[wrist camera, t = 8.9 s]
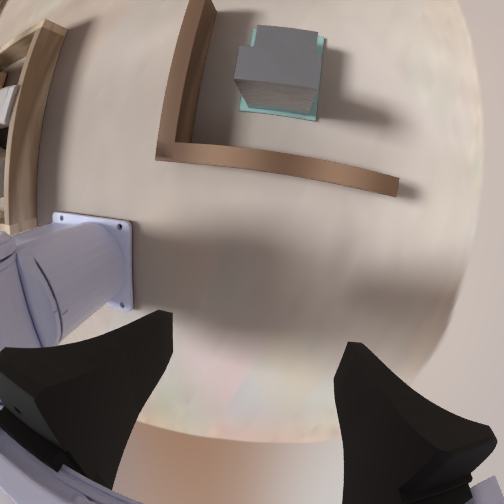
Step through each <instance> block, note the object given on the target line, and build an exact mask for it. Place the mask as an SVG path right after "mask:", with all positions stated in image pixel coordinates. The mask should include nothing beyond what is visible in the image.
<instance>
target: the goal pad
mask: <svg viewBox="0 0 504 504" xmlns="http://www.w3.org/2000/svg"><path fill="white" fill-rule="evenodd" d="M256 30H257V28H253V33H252V39H251V44H250V46H254V41H255V36H256ZM323 43H324V37H323V36H318V39H317V50H316V54H319V55H322V54H323ZM321 65H322V58H321ZM320 76H321V69H320ZM319 85H320V79H319ZM318 94H319V88H318V91H317V94H316V96H315V98H314V101H313V103H312V105H311V108H310V110H309V112H308V115H307V116H306V115H300V114H294V113H287V112H280V111H272V110H264V109H255V108H248V106H247V104H246V102H245V100H244V98H243V96H242V97H241V103H240V110H239V111H245V112H255V113H264V114H272V115H279V116H286V117H293V118H299V119H305V120H311V121H315V120H316V112H317V103H318Z"/></svg>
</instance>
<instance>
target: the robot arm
mask: <svg viewBox="0 0 504 504" xmlns="http://www.w3.org/2000/svg"><path fill="white" fill-rule="evenodd" d="M63 218H64V219H63ZM52 221H53V223H50V224H47V225H44V226H40V227H37V228H34V229H31V230H28V231H25V232H22V233H19V234H16V235H13V236H10V235H9V234H7V233H6V232H5V231H0V489H1V490H2V491H3V492H4V493H5V494H6V495H7V496H8V497H9V498H10V499H12V501H14V502H15V503H16V504H143V503H141V502H138V501H135V500H133V499H130V498H128V497H126V496H123V495H121V494H119V493H116V492H114V491H112V487H113V484H114V480H115V477H116V473H117V470H118V467H119V463H120V461H121V458H122V455H123V452H124V449H125V446H126V444H127V441H128V439H129V436H130V434H131V431H132V429H133V427H134V424H135V422H136V420H137V417H138V415H139V413H140V411H141V410H142V408H143V406H144V404H145V403H146V401H147V400H148V398H149V396H150V395H151V393H152V391H153V390H154V388H155V387H156V385H157V383H158V382H159V380H160V378H161V377H162V375H163V373H164V372H165V370H166V367H167V365H168V363H169V361H170V358H171V356H172V353H173V313H171V312H166V311H162V310H157V311H155V312H152V313H150V314H148V315H146V316H144V317H142V318H140V319H138V320H136V321H133V322H131V323H129V324H127V325H125V326H123V327H120V328H118V329H115V330H113V331H110V332H108V333H105V334H103V335H100V336H97V337H94V338H91V339H87V340H84V341H80V342H76V343H71V344H65V345H60V346H58V344H59V342H61V341H62V340H63V339H64V338H65V337H66V336H68V335H69V334H70V333H71V332H72V331H73V330H75V329H76V328H77V327H78V326H79V325H81V324H82V323H83V322H84V321H85V320H87V319H88V318H89V317H90V316H91V315H93V314H94V313H95V312H96V311H97V310H99V309H100V308H101V307H102V306H104V305H108V306H111V307H114V308H118V309H121V310H125V311H131V310H132V309H133V291H132V225H131V223H130V222H129V221H125V220H117V219H110V218H103V217H96V216H88V215H81V214H74V213H66V212H59V211H57V212H54V213H53V216H52ZM120 224H121V225H122V229H121V228H120V226H119V225H120ZM122 303H123V304H124V306H123V304H122ZM334 395H335V403H336V408H337V414H338V419H339V424H340V429H341V435H342V440H343V449H344V487H343V500H342V504H504V497H503V494H502V492H501V489H500V487H499V484H498V482H497V480H496V477H495V476H492V477H490V478H488V479H487V480H484V481H482V482H480V483H478V484H477V485H475V486H473V487H472V488H470V487H469V485H468V483H469V482H471V481H472V476H471V472H472V471H474V470H475V469H476V468H477V467H478V466H479V465H480V464H481V463H482V462H483V461H484V460H485V459H486V458H487V457H488V456H489V455H490V454H491V453H492V452H493V450H494V449H495V447H496V444H497V439H496V437H495V435H494V433H493V431H492V430H491V428H490V427H489V426H487V425H484V424H481V423H477V422H473V421H470V420H467V419H465V418H462V417H460V416H457V415H455V414H453V413H451V412H449V411H447V410H445V409H443V408H441V407H439V406H437V405H436V404H434V403H432V402H430V401H429V400H427V399H426V398H424V397H423V396H421V395H420V394H419V393H417V392H416V391H414V390H413V389H412V388H411V387H409V386H408V385H407V384H406V383H404V382H403V381H402V380H401V379H400V378H399V377H397V376H396V375H395V374H394V373H393V372H392V371H391V370H390V369H389V368H388V367H387V366H386V365H385V364H384V363H383V362H382V361H381V360H380V359H378V358H377V357H376V356H375V355H374V354H373V353H372V352H371V351H370V350H369V349H368V348H367V347H366V346H365V345H364V344H362V343H358V342H348V343H347V346H346V349H345V351H344V354H343V357H342V359H341V362H340V364H339V367H338V369H337V372H336V374H335V376H334Z"/></svg>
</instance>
